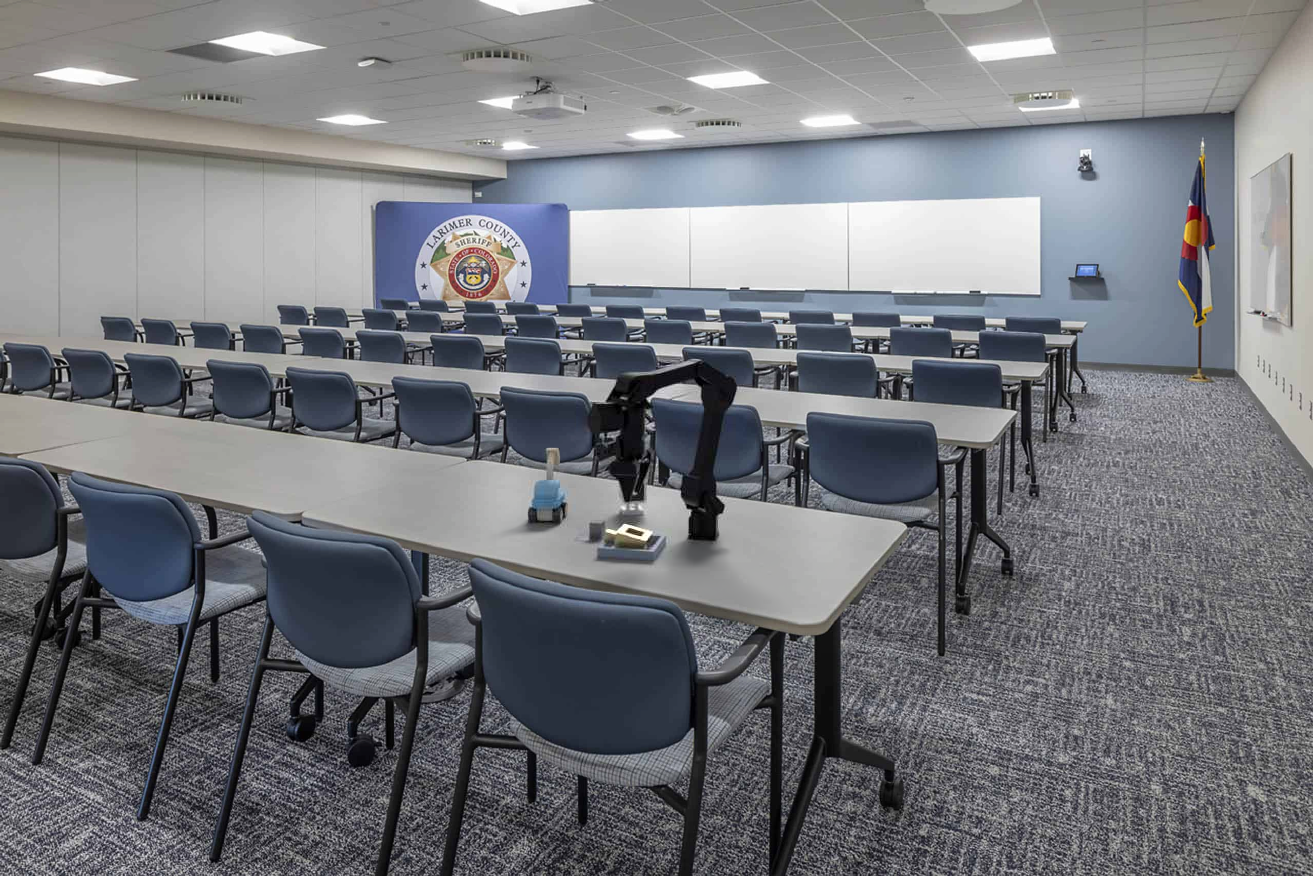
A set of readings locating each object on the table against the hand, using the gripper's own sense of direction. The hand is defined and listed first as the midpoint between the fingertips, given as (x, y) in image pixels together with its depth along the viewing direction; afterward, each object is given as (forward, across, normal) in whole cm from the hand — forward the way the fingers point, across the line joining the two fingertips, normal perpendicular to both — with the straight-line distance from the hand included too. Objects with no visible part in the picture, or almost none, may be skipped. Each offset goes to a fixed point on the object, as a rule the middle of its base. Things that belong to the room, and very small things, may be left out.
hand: (632, 497), depth 211 cm
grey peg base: (+13, -9, -11) cm, 19 cm away
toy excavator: (+13, -24, -28) cm, 39 cm away
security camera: (+13, -32, -8) cm, 35 cm away
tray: (+13, 0, 0) cm, 13 cm away
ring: (+11, 0, -2) cm, 11 cm away
